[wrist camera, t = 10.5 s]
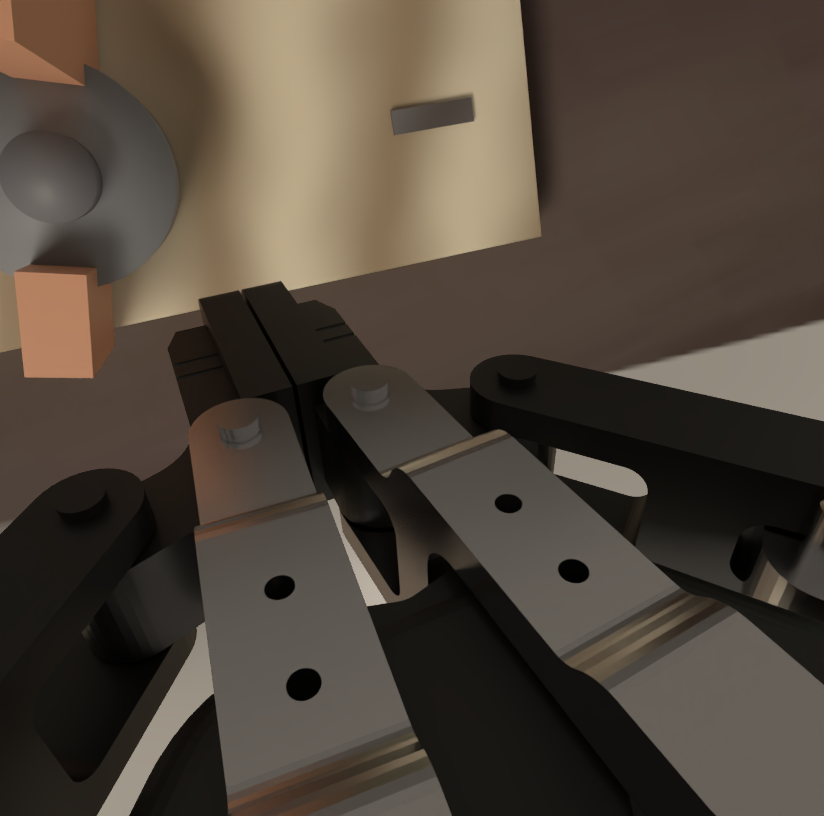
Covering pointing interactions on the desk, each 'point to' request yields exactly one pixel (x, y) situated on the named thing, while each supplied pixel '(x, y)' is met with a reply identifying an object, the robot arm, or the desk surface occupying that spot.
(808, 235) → the desk surface
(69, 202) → the orange grey panel fixture
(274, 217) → the level stand
